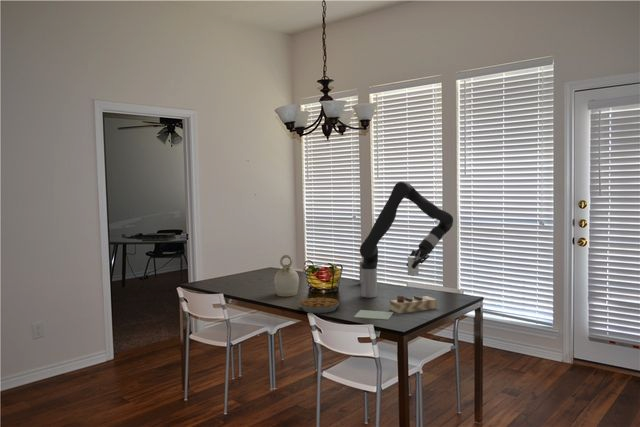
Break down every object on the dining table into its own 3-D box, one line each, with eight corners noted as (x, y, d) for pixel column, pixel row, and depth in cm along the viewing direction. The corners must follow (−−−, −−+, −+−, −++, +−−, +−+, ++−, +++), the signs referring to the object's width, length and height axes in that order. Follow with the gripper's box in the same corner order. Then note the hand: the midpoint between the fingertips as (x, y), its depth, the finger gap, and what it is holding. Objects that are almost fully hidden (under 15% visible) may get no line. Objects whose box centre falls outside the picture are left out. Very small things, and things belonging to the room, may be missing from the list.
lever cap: (412, 276, 272) (412, 257, 272) (407, 274, 277) (407, 256, 276) (418, 275, 274) (418, 257, 273) (413, 273, 278) (413, 255, 277)
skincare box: (362, 285, 340) (362, 262, 339) (359, 283, 347) (358, 260, 346) (374, 284, 343) (374, 261, 342) (370, 282, 349) (370, 259, 348)
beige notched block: (398, 313, 268) (398, 298, 267) (390, 309, 276) (389, 295, 275) (436, 308, 277) (436, 293, 276) (427, 304, 285) (427, 290, 285)
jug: (295, 297, 308) (295, 257, 307) (271, 297, 311) (270, 256, 310) (301, 292, 323) (301, 253, 322) (278, 291, 326) (277, 253, 325)
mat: (353, 317, 261) (353, 316, 261) (360, 310, 275) (360, 310, 275) (388, 319, 256) (388, 319, 256) (393, 312, 269) (393, 312, 269)
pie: (337, 303, 292) (337, 295, 292) (340, 313, 270) (340, 304, 270) (300, 304, 291) (299, 296, 291) (299, 314, 270) (299, 305, 269)
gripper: (417, 237, 283) (398, 260, 280) (432, 240, 270) (413, 264, 266) (425, 246, 286) (407, 269, 282) (440, 249, 273) (421, 273, 269)
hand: (410, 266), depth 274 cm, fingers closed on lever cap, 4 cm apart
